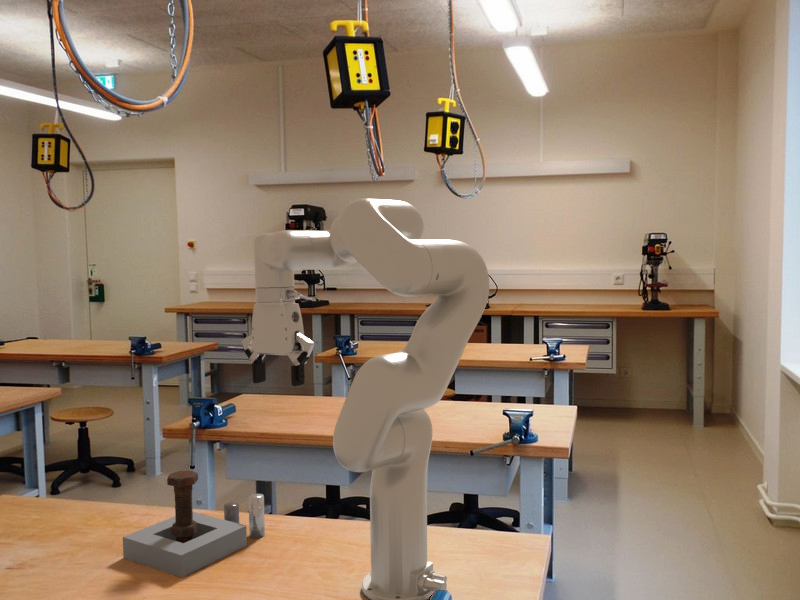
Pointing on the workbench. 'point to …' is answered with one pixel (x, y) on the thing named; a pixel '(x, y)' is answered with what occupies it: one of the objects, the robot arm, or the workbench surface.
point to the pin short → (231, 512)
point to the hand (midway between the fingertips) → (278, 383)
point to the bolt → (183, 505)
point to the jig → (184, 545)
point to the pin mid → (256, 515)
